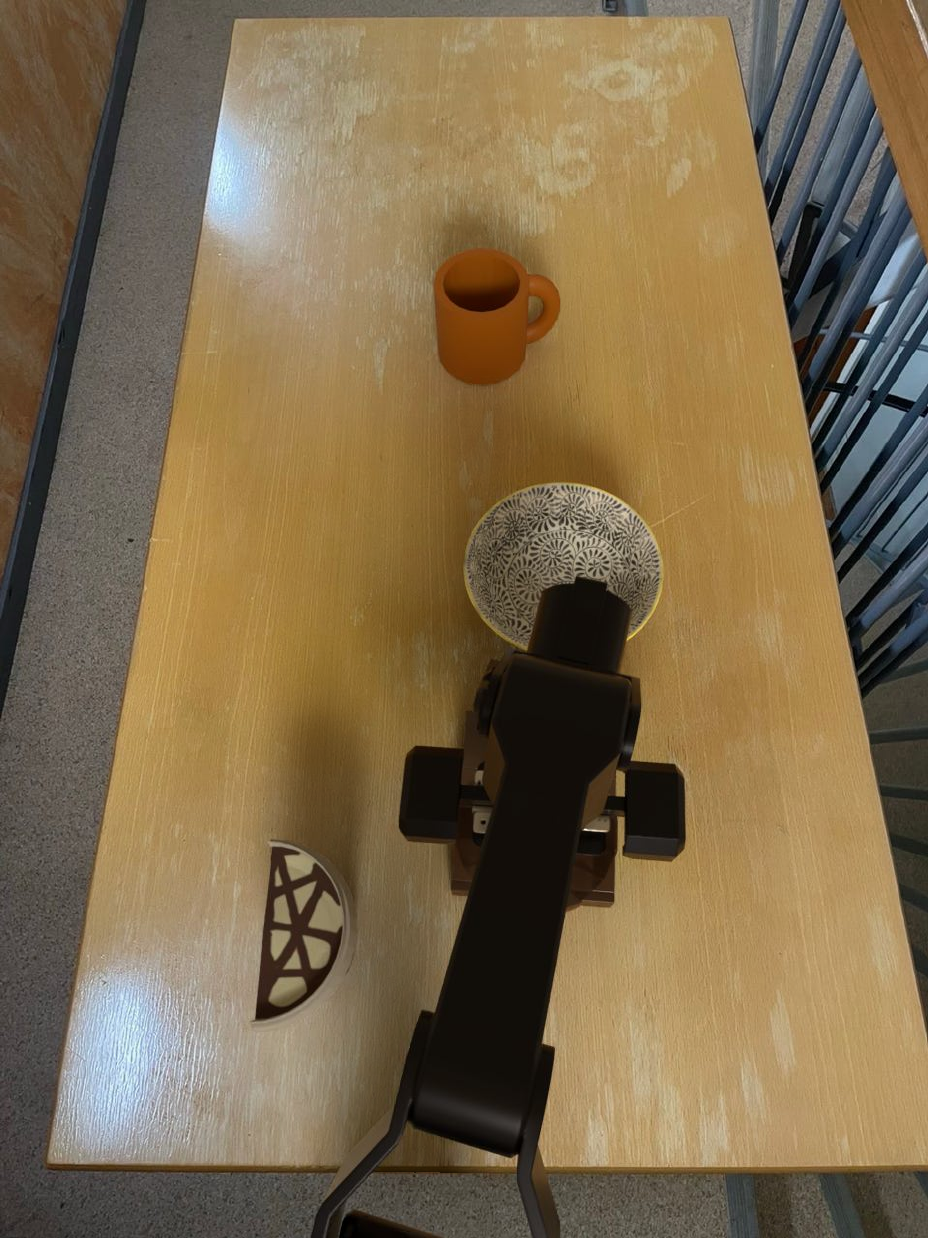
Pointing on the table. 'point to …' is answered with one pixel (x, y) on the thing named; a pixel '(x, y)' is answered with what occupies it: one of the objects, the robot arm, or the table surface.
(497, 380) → the mug
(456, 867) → the holder
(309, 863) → the food container
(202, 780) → the table surface
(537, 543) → the bowl
